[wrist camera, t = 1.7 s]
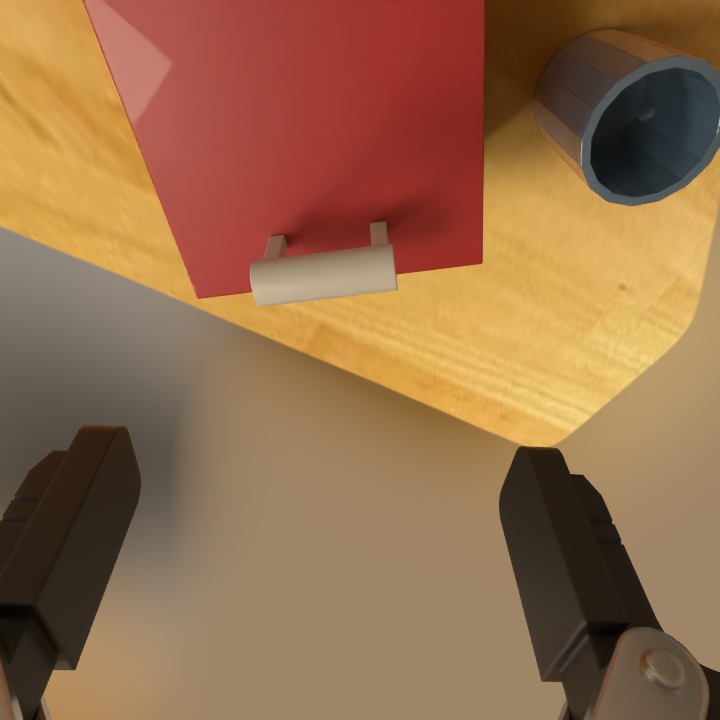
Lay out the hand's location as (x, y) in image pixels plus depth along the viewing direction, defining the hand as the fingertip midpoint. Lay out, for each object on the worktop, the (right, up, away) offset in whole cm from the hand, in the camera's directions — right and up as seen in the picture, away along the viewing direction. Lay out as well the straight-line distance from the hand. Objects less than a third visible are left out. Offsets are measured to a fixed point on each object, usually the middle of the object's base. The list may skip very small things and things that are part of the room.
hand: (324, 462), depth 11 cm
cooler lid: (-1, +13, +9) cm, 16 cm away
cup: (+14, +17, +19) cm, 29 cm away
